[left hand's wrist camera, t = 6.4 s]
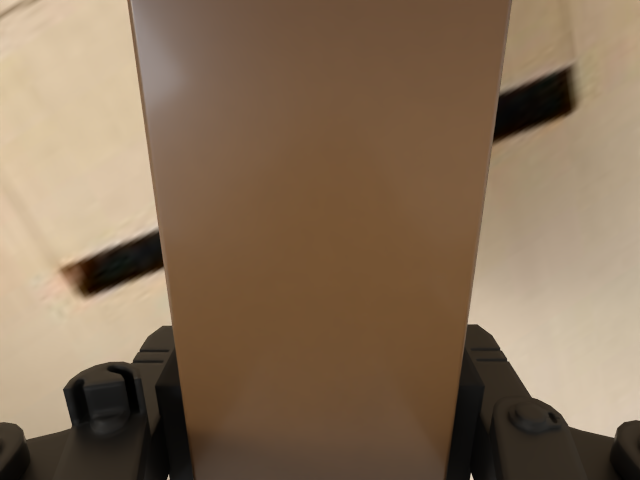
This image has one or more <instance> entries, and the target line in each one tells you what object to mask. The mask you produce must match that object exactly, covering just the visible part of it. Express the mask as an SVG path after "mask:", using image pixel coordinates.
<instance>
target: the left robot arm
mask: <svg viewBox="0 0 640 480" xmlns="http://www.w3.org/2000/svg"><path fill="white" fill-rule="evenodd" d="M63 391H64V395H65V399H66V403H67V407H68V411H69V414H70V418H71V422H72V427H71V429H68V430H64V431H61V432H58V433H54V434H49V435H45V436H41V437H36V438H32V439H28V440H26V439H25V436H24V432H23V430H22V429H21V428H20V427H19V426H18V425H16V424H12V423H6V422H2V423H0V480H167V477H168V475H169V477H170V480H194V479H193V472H192V465H191V458H190V451H189V443H188V436H187V429H186V422H185V414H184V407H183V400H182V393H181V385H180V378H179V371H178V364H177V356H176V349H175V342H174V335H173V327H172V326H162V327H161V328H159V329H158V330H156V331H155V332H154V333H152V334H151V335H150V336H148V337H147V339H146V341H145V342H144V344H143V345H142V347H141V349H140V352H138V353H137V355H136V356H135V358H134V360H133V363H131V364H129V363H126V362H108V363H104V364H99V365H95V366H93V367H91V368H89V369H86V370H84V371H82V372H80V373H79V374H78V375H76V376H75V377H73V378H72V379H71V380H70V381H69V382H68V383H67V385H66V386H65V387H64V389H63ZM471 473H472V476H473V479H474V480H640V421H637V420H635V421H629V422H624V423H623V424H622V425H620V426H619V427H618V428H617V431H616V434H615V438H612V437H607V436H603V435H599V434H594V433H590V432H586V431H581V430H578V429H575V428H572V427H569V426H568V424H567V423H566V421H565V420H564V418H563V417H562V415H561V414H560V413H559V412H557V411H556V410H555V409H554V408H553V407H551V406H550V405H548V404H546V403H544V402H542V401H540V400H538V399H535V398H532V397H531V396H530V394H529V393H528V391H527V389H526V388H525V386H524V385H523V383H522V382H521V380H520V378H519V377H518V375H517V374H516V372H515V371H514V369H513V367H512V366H511V364H510V363H509V362H507V358H506V357H505V355H504V353H503V352H502V351H500V347H499V346H498V344H497V342H496V341H495V339H494V338H493V336H492V335H491V334H489V333H488V332H487V331H485V330H484V329H483V328H481V327H480V326H479V325H467V331H466V338H465V345H464V352H463V360H462V367H461V374H460V382H459V389H458V396H457V403H456V411H455V418H454V425H453V432H452V440H451V447H450V454H449V461H448V469H447V476H446V480H470V475H471Z"/></svg>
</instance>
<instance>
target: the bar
mask: <svg viewBox="0 0 640 480" xmlns="http://www.w3.org/2000/svg"><path fill="white" fill-rule="evenodd" d="M127 1H128V9H129V16H130V23H131V30H132V38H133V45H134V52H135V59H136V67H137V74H138V81H139V88H140V96H141V103H142V110H143V117H144V125H145V132H146V139H147V146H148V154H149V161H150V168H151V175H152V183H153V190H154V197H155V204H156V211H157V219H158V226H159V233H160V240H161V248H162V255H163V262H164V269H165V277H166V284H167V291H168V298H169V306H170V313H171V320H172V327H173V335H174V342H175V349H176V356H177V364H178V371H179V378H180V385H181V393H182V400H183V407H184V414H185V422H186V429H187V436H188V443H189V451H190V458H191V465H192V472H193V479H194V480H446V476H447V469H448V461H449V454H450V447H451V440H452V432H453V425H454V418H455V411H456V403H457V396H458V389H459V382H460V374H461V367H462V360H463V352H464V345H465V338H466V331H467V323H468V316H469V309H470V302H471V294H472V287H473V280H474V273H475V265H476V258H477V251H478V243H479V236H480V229H481V222H482V214H483V207H484V200H485V193H486V185H487V178H488V171H489V164H490V156H491V149H492V142H493V135H494V127H495V120H496V113H497V105H498V98H499V91H500V84H501V76H502V69H503V62H504V55H505V47H506V40H507V33H508V26H509V18H510V11H511V4H512V0H127Z"/></svg>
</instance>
